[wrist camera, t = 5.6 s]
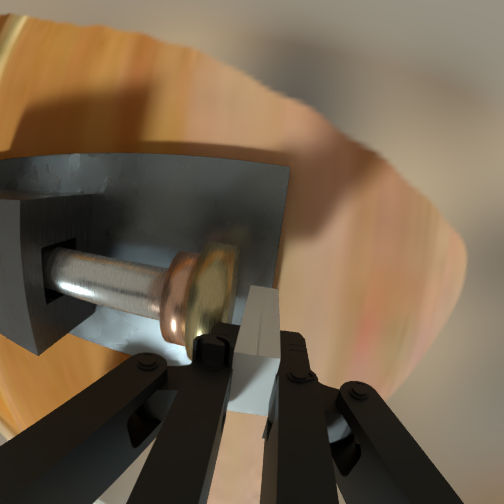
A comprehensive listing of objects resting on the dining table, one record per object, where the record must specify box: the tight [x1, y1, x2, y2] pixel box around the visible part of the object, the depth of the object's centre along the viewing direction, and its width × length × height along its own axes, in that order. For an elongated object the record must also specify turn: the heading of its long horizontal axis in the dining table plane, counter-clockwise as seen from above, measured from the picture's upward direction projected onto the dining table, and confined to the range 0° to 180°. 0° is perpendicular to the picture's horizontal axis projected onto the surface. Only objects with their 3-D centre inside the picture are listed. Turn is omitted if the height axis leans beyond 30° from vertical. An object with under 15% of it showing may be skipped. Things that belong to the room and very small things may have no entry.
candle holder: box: [93, 438, 156, 504], centre depth 19 cm, size 10×10×12 cm
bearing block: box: [0, 153, 290, 366], centre depth 16 cm, size 34×16×8 cm, turn 82°
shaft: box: [41, 242, 240, 361], centre depth 15 cm, size 22×7×7 cm, turn 82°
